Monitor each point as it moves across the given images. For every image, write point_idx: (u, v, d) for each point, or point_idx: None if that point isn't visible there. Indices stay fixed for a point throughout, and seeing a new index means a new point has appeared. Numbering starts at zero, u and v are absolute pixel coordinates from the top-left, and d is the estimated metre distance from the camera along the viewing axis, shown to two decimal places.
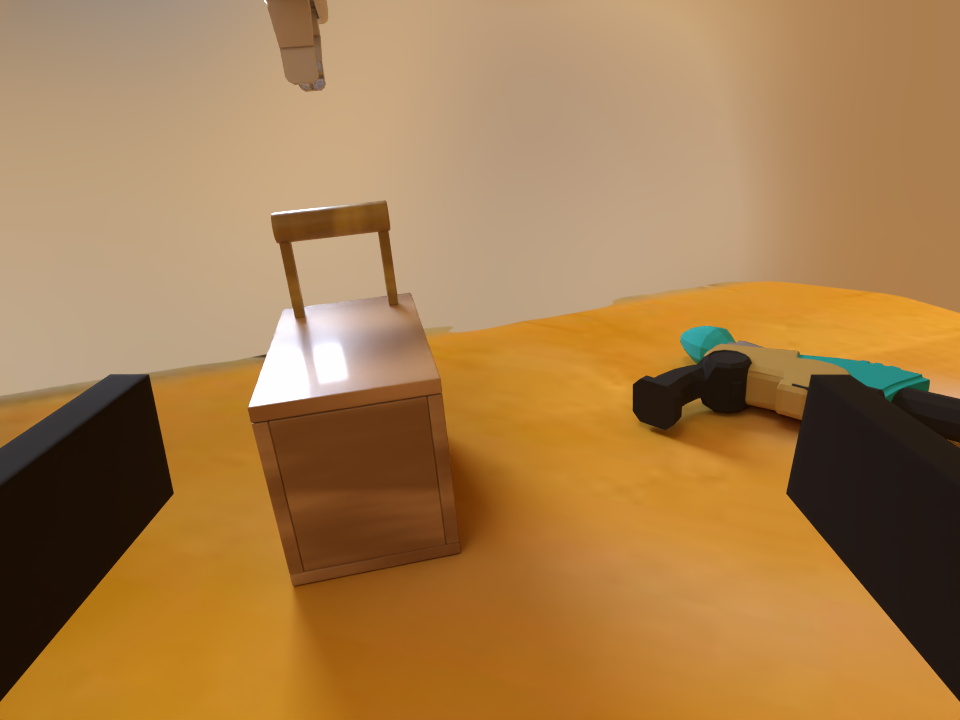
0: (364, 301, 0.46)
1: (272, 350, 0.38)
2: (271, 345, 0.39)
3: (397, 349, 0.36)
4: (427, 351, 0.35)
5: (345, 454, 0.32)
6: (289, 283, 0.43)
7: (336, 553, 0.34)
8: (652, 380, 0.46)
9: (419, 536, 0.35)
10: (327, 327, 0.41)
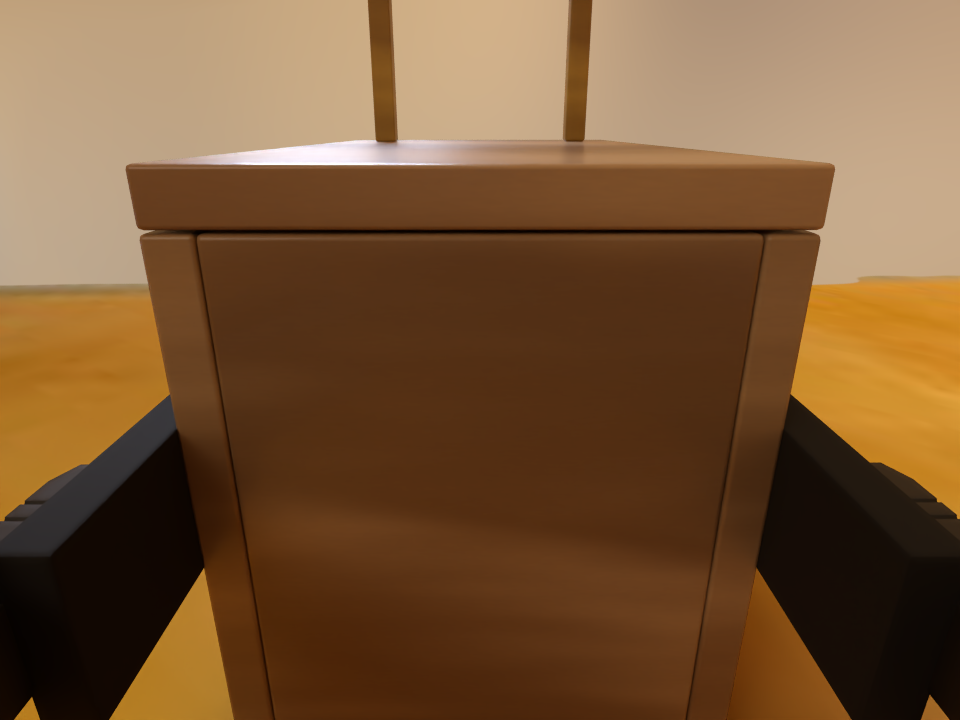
0: (512, 140, 0.24)
1: (304, 146, 0.16)
2: (308, 145, 0.17)
3: (618, 150, 0.13)
4: (713, 152, 0.12)
5: (439, 402, 0.10)
6: (374, 61, 0.21)
7: (369, 693, 0.12)
8: None
9: (616, 691, 0.12)
10: (438, 143, 0.19)
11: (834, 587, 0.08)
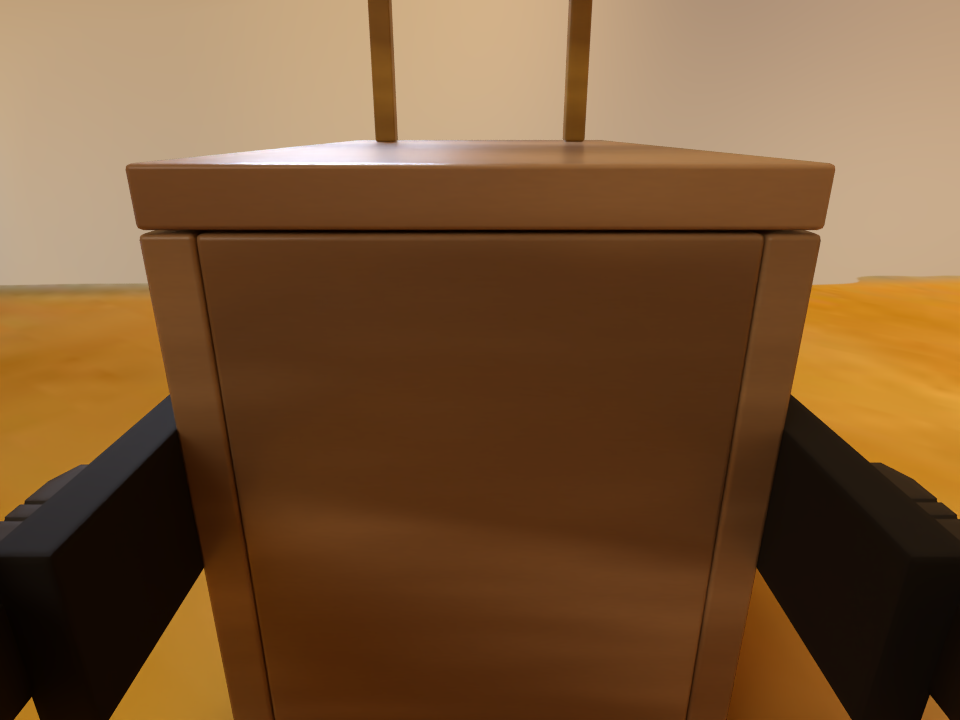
0: (512, 140, 0.24)
1: (304, 146, 0.16)
2: (308, 145, 0.17)
3: (618, 151, 0.13)
4: (713, 152, 0.12)
5: (439, 402, 0.10)
6: (374, 61, 0.21)
7: (369, 693, 0.12)
8: None
9: (616, 691, 0.12)
10: None
11: (834, 587, 0.08)
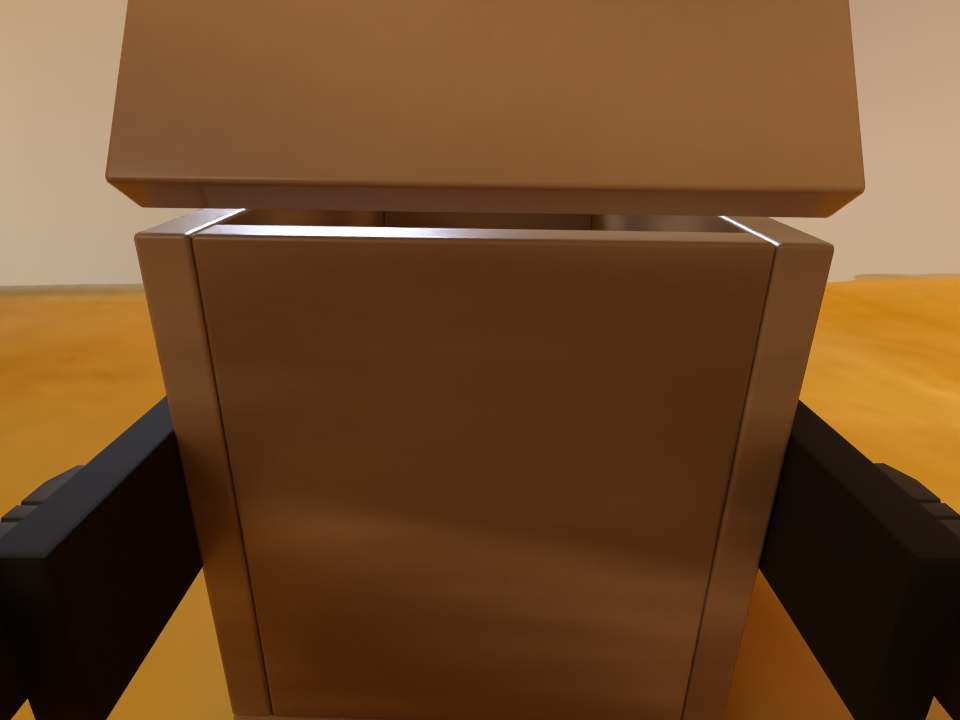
0: None
1: None
2: None
3: None
4: None
5: (438, 406, 0.09)
6: None
7: (366, 688, 0.12)
8: None
9: (611, 692, 0.12)
10: None
11: (838, 588, 0.08)
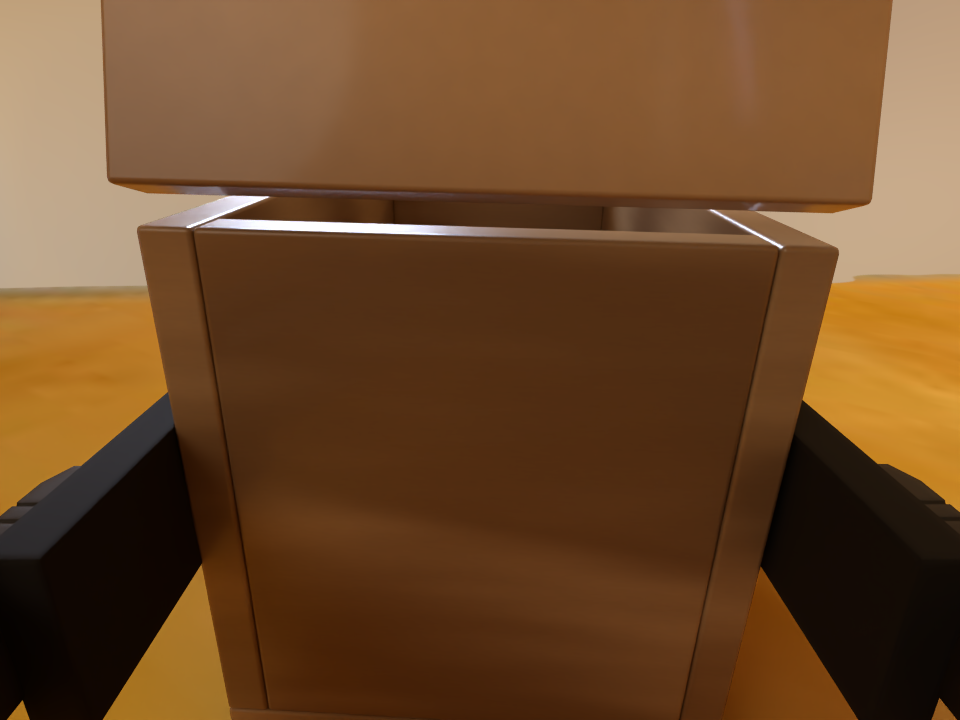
0: None
1: None
2: None
3: None
4: None
5: (436, 404, 0.09)
6: None
7: (361, 685, 0.12)
8: None
9: (607, 696, 0.12)
10: None
11: (842, 590, 0.08)
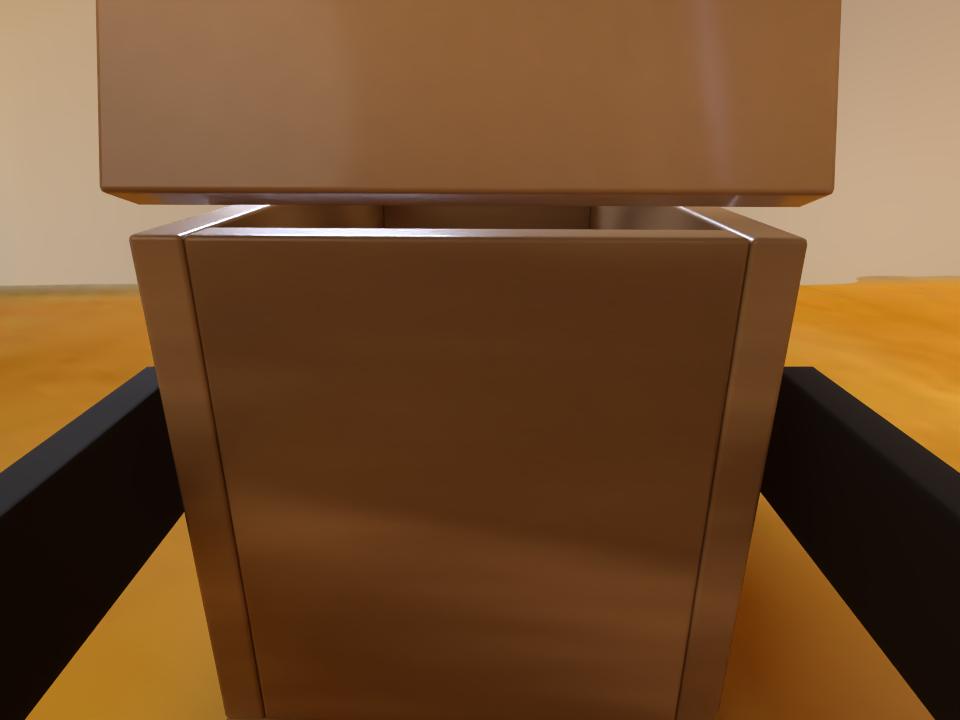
0: None
1: None
2: None
3: None
4: None
5: (423, 402, 0.10)
6: None
7: (357, 690, 0.12)
8: None
9: (603, 694, 0.12)
10: None
11: (951, 627, 0.08)
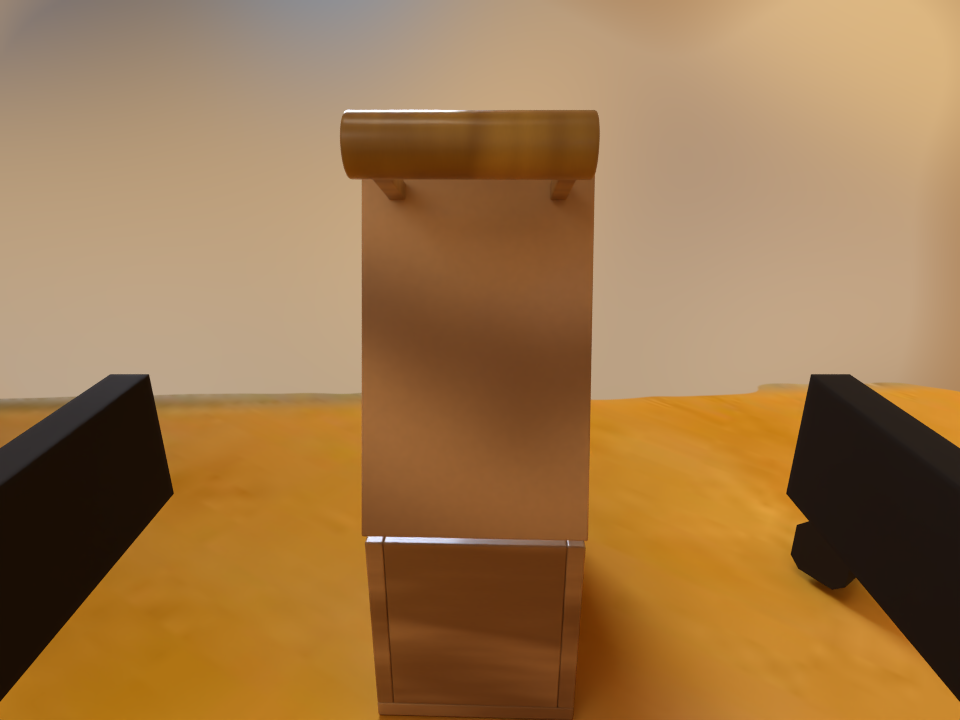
0: None
1: (368, 348, 0.26)
2: (364, 324, 0.26)
3: (544, 422, 0.26)
4: (584, 445, 0.26)
5: (460, 592, 0.28)
6: (379, 185, 0.23)
7: (431, 691, 0.30)
8: None
9: (528, 693, 0.30)
10: (446, 274, 0.26)
11: None
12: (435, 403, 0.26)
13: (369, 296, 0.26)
